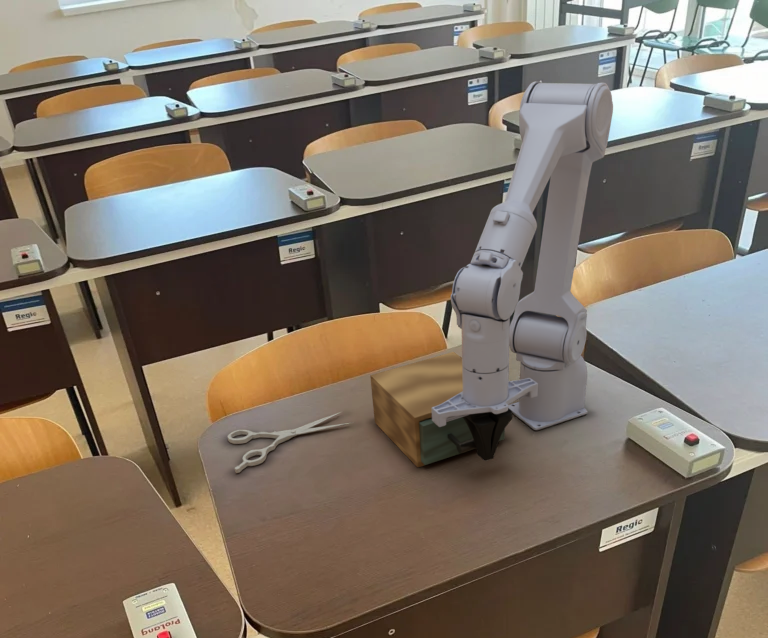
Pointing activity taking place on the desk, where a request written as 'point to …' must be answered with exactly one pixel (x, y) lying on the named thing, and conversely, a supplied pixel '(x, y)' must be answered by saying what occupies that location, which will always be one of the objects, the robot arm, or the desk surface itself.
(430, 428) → the drawer
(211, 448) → the desk surface
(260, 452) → the scissors
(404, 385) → the cabinet
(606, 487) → the desk surface
